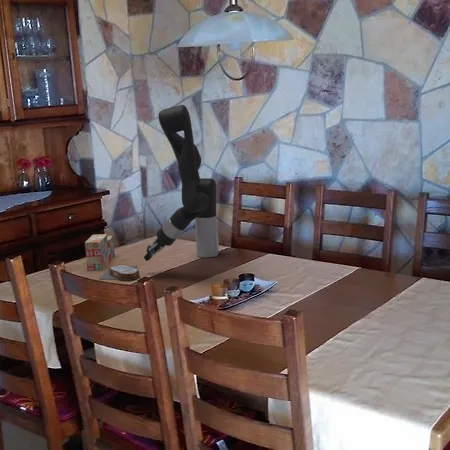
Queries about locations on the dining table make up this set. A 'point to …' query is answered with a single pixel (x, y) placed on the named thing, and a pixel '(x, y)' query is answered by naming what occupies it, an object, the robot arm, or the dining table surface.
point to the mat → (107, 276)
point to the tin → (124, 272)
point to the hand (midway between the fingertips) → (146, 259)
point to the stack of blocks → (99, 251)
